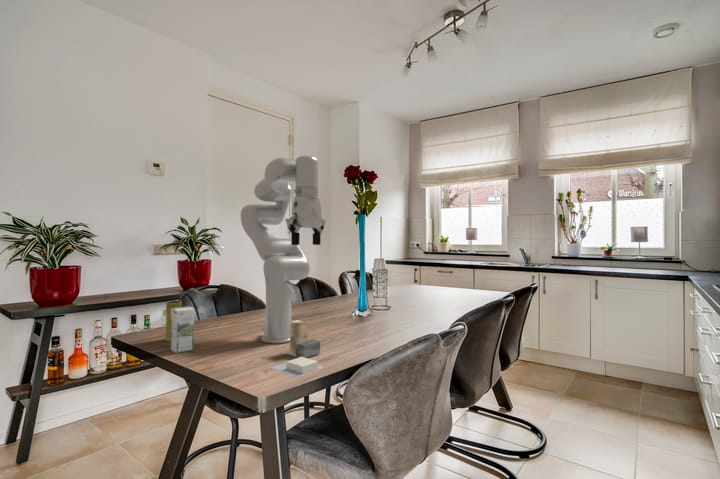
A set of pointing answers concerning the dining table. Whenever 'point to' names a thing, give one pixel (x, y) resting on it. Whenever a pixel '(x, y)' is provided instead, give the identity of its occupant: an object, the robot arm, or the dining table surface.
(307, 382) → the dining table surface
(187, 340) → the syrup box
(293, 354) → the coaster
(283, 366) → the mat
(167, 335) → the vase
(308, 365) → the tile
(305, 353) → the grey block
